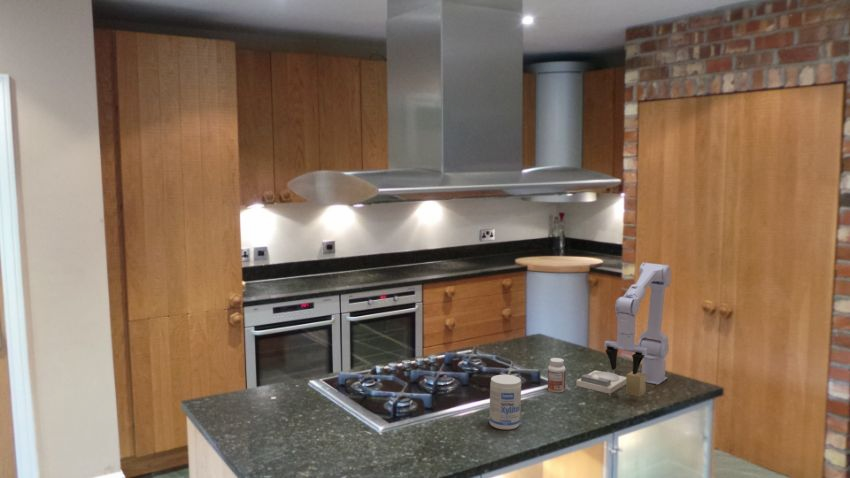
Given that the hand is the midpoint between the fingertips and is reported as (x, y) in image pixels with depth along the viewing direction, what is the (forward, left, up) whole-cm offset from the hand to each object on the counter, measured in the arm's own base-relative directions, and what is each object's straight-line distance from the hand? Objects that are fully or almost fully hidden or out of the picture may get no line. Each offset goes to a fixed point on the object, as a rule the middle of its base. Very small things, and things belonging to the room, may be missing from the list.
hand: (624, 371), depth 239 cm
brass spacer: (-9, +1, -10) cm, 13 cm away
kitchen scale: (-10, -12, -10) cm, 18 cm away
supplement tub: (+44, -19, -10) cm, 49 cm away
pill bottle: (+6, -22, -10) cm, 25 cm away
